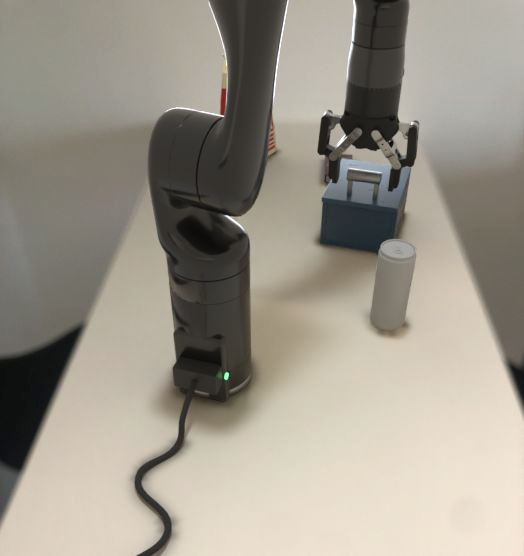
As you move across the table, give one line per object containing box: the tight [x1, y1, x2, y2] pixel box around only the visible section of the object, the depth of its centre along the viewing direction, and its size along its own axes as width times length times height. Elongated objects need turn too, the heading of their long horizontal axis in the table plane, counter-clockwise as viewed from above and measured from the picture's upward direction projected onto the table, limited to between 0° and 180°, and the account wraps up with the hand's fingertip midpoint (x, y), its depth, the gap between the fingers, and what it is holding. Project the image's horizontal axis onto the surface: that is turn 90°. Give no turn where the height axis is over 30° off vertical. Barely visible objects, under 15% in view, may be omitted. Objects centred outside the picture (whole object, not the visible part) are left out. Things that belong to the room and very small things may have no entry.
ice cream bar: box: [323, 152, 354, 184], centre depth 130 cm, size 5×2×15 cm
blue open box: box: [319, 174, 411, 254], centre depth 111 cm, size 14×12×8 cm
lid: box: [321, 158, 412, 213], centre depth 106 cm, size 14×12×5 cm
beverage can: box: [369, 238, 417, 332], centre depth 90 cm, size 5×5×12 cm
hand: (363, 185), depth 103 cm, fingers open, 8 cm apart
